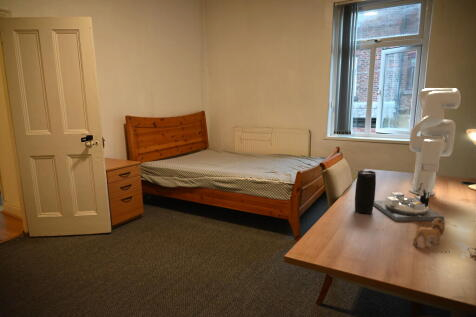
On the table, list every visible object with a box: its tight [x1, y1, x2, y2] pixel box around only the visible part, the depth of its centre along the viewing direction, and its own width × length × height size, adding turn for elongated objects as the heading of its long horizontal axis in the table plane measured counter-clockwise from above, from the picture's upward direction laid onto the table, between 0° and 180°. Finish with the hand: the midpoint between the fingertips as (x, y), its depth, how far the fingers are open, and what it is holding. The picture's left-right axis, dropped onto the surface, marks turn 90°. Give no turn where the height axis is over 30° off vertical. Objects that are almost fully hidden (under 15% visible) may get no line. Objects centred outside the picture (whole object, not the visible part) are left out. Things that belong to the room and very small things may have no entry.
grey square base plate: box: [373, 200, 445, 222], centre depth 146 cm, size 22×22×2 cm
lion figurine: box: [412, 218, 446, 248], centre depth 113 cm, size 15×5×9 cm, turn 118°
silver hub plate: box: [384, 191, 430, 215], centre depth 145 cm, size 18×18×5 cm
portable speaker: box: [354, 170, 377, 215], centre depth 144 cm, size 9×9×20 cm
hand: (423, 205), depth 140 cm, fingers closed
